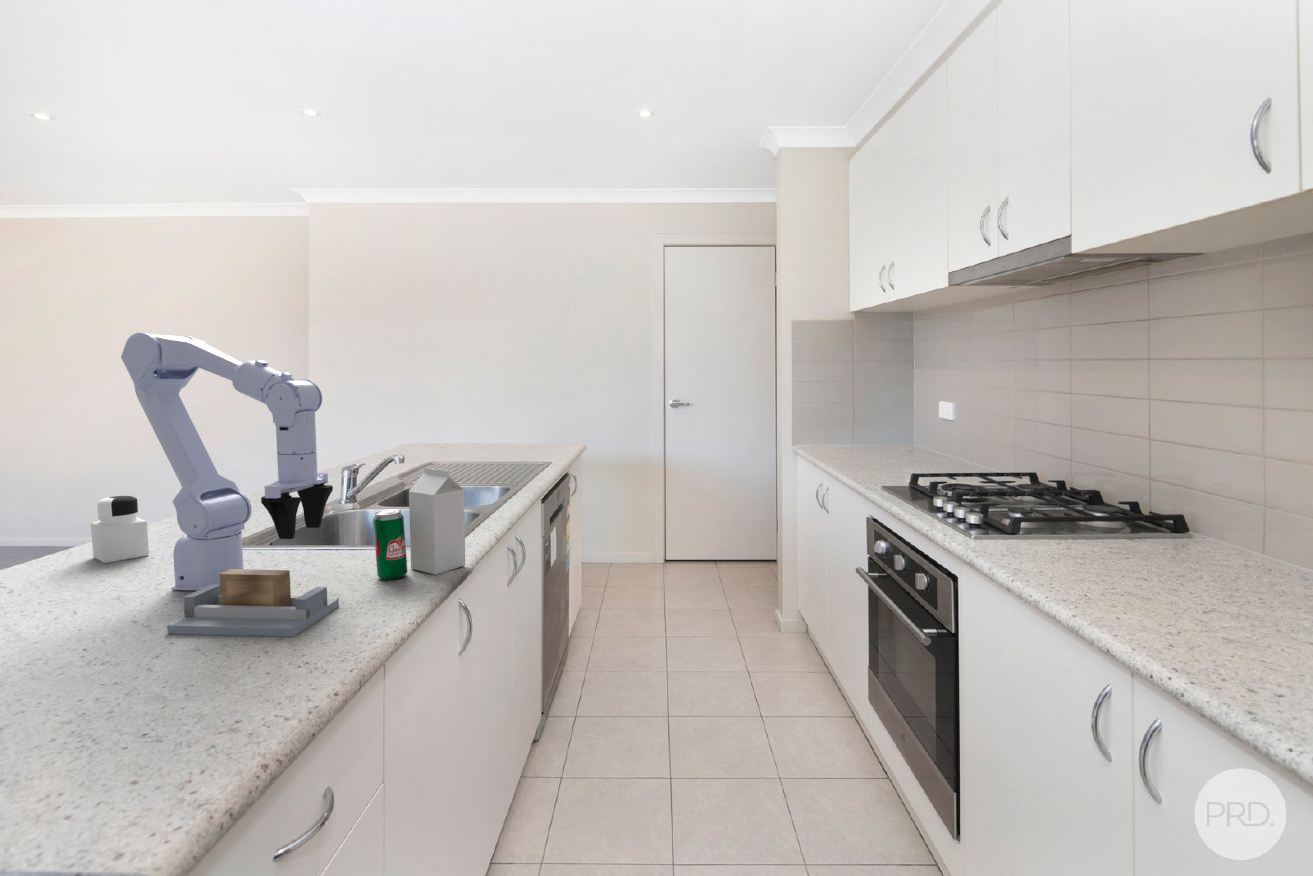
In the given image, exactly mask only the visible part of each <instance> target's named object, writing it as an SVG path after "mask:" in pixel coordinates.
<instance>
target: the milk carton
mask: <svg viewBox="0 0 1313 876" xmlns="http://www.w3.org/2000/svg"><path fill="white" fill-rule="evenodd" d="M408 504H409V540H410V546H409V547H410V549H409V550H410V568H411V569H412V570H416V571H421V572H423V573H428V574H431V575H438V574H441V573H445V572H449V571H451V570H455V569H457V568H461V567H464V566H466V532H465V531H466V525H465V520H466V519H465V488H463V487H462V486H461V485H460V484H458V483H457V481H455V480H454V479H453V478H452V476H451V475H450V470H446V469H439V468H438V469H437V468H428V467H423V474H422V475H421V476H420V477H419V479H417V480H416V482H415V483H414V484H413V486H412V487H411V488H410V489H409V490H408Z"/></svg>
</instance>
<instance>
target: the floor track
mask: <svg viewBox="0 0 1313 876" xmlns="http://www.w3.org/2000/svg"><path fill="white" fill-rule="evenodd" d="M339 601H340V599H339V598H333V597H332V598H328V588H327V586H316V587H314V588H312V589H310V590H308V591H307V592H306V593H304V594H301V595H291V607H279V606H235V605H221V593H220V585H218V584H211V585H209V586H207V587H205V588H202V589H200V590H195V591H194V592H191V593H188V594H187V595H185V596H183V611H184V612H183V613H184V617H182V618H180V619H177V620H176V621H173V622H171V623H169V624H167V625H166V628H167V629H166V632H167V633H172V634H171V635H200V636H201V635H202V636H203V635H204V636H209V635H210V636H241V637H243V636H244V637H245V636H246V637H247V636H248V637H287V638H290V637H292V638H293V637H295V636H297V635H298V634H300V633H301V632H302V631H304V630H305V629H307V628H308V627H310V626H312V625H313V624H315V623H316V622H318V621H319V620H320V619H322V618H323V617H325V616H326V615H328V614H329V613H331V612H332V611H334V610H335V609H337V608H338V607H339V606H340V603H339Z"/></svg>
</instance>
